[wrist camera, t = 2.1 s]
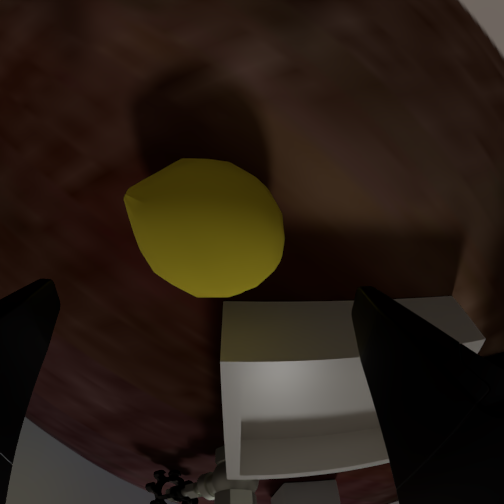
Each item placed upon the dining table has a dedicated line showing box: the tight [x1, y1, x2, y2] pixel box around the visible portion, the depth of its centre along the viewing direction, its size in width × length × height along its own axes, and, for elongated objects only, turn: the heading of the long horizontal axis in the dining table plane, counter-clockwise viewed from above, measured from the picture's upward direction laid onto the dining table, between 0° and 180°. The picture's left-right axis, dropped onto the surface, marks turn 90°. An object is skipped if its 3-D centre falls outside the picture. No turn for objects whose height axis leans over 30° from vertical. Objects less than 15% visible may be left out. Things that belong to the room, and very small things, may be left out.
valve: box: [146, 445, 259, 504], centre depth 25 cm, size 7×7×12 cm
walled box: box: [220, 296, 486, 480], centre depth 19 cm, size 15×15×4 cm
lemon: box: [124, 158, 285, 297], centre depth 13 cm, size 7×5×5 cm
